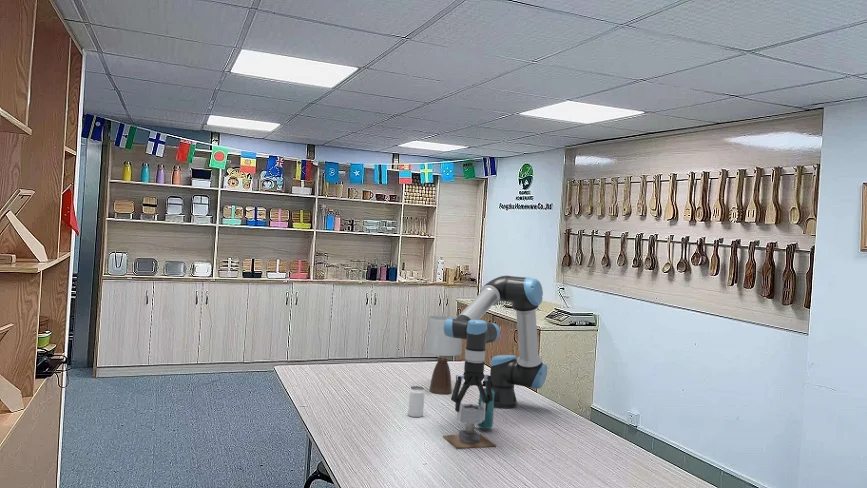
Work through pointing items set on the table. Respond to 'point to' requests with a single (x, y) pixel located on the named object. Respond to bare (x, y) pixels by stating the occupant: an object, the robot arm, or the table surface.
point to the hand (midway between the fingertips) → (470, 419)
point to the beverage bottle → (489, 413)
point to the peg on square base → (468, 438)
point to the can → (416, 401)
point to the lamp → (441, 353)
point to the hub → (472, 414)
